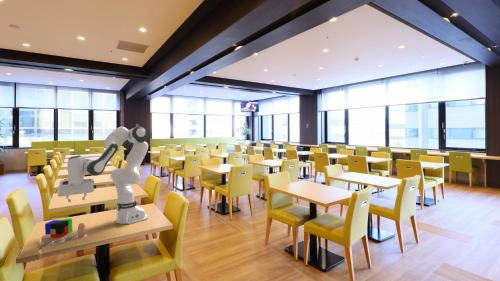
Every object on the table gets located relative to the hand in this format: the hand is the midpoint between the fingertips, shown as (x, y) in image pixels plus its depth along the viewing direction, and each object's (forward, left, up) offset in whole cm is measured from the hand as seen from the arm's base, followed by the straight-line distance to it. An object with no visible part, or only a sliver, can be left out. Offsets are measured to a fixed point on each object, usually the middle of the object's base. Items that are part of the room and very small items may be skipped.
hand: (76, 200), depth 175 cm
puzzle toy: (+10, 0, -22) cm, 24 cm away
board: (+8, +12, -21) cm, 26 cm away
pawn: (-1, +12, -20) cm, 23 cm away
